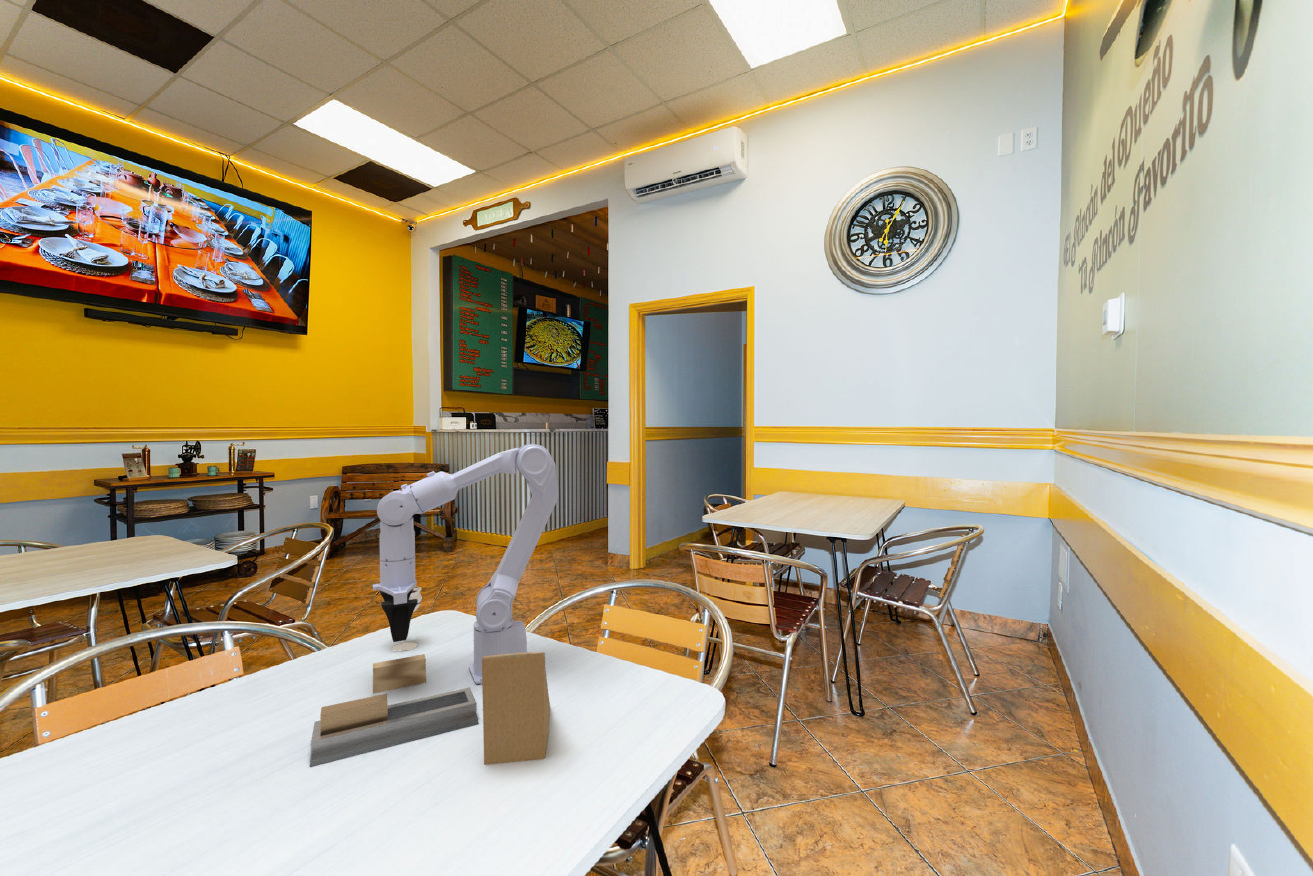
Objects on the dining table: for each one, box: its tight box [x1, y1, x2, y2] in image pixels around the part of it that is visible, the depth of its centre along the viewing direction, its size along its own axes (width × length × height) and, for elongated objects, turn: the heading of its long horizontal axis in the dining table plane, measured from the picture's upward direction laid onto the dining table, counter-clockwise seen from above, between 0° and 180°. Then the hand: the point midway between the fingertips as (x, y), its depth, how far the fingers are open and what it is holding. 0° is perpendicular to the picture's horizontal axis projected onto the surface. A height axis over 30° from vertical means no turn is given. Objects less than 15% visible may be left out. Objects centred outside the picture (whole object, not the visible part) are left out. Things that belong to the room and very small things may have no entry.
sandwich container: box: [481, 651, 551, 766], centre depth 81 cm, size 9×15×15 cm, turn 8°
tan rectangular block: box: [372, 653, 427, 694], centre depth 96 cm, size 8×2×4 cm, turn 119°
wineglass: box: [391, 585, 423, 652], centre depth 114 cm, size 7×7×12 cm
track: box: [309, 687, 479, 767], centre depth 82 cm, size 22×9×5 cm, turn 119°
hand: (398, 633), depth 96 cm, fingers open, 7 cm apart
